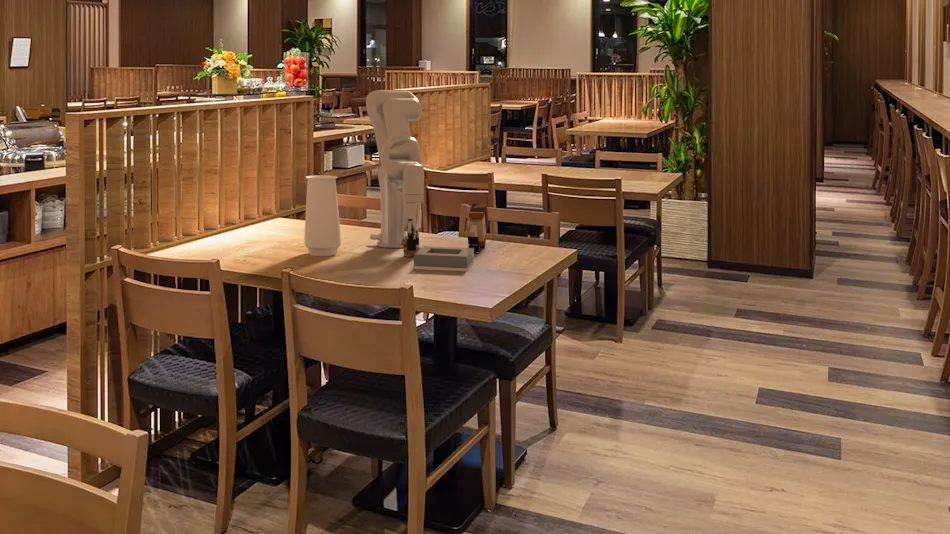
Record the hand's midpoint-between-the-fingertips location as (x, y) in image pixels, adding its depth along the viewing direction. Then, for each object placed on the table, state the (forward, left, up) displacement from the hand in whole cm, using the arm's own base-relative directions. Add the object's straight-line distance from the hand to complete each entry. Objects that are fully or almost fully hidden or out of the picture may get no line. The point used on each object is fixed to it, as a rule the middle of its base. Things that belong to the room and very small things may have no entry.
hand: (413, 248), depth 322 cm
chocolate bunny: (0, 0, -3) cm, 3 cm away
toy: (+20, +20, -3) cm, 28 cm away
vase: (-33, -2, -3) cm, 33 cm away
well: (+14, -14, -3) cm, 20 cm away
